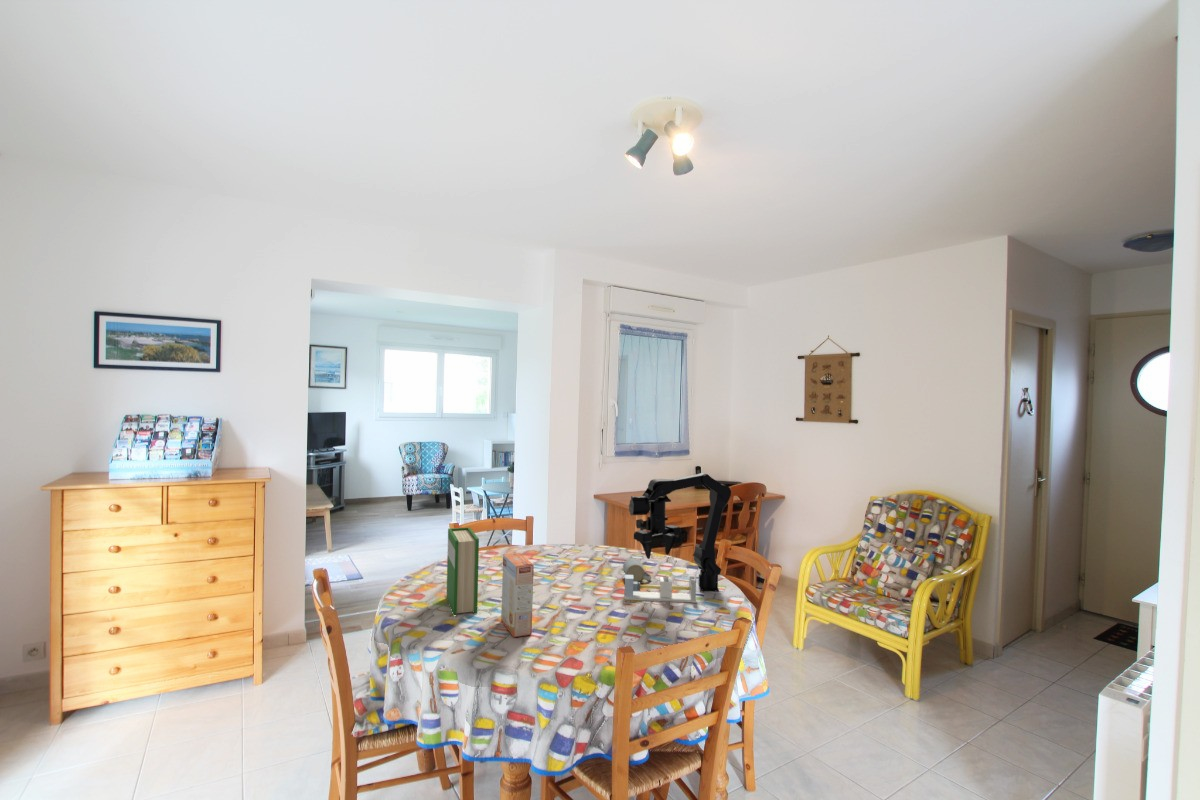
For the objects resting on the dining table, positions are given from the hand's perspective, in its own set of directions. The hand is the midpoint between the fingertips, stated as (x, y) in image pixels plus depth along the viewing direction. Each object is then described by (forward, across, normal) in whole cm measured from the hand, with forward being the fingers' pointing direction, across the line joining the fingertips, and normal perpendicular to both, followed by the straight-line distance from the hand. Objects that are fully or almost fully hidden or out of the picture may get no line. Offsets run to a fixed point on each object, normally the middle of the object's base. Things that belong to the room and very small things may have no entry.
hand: (657, 556), depth 198 cm
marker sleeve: (+12, +2, +6) cm, 13 cm away
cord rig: (+13, +4, +5) cm, 14 cm away
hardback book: (+11, +65, -26) cm, 71 cm away
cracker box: (+12, +58, +1) cm, 59 cm away
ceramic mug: (+13, -2, -15) cm, 20 cm away
